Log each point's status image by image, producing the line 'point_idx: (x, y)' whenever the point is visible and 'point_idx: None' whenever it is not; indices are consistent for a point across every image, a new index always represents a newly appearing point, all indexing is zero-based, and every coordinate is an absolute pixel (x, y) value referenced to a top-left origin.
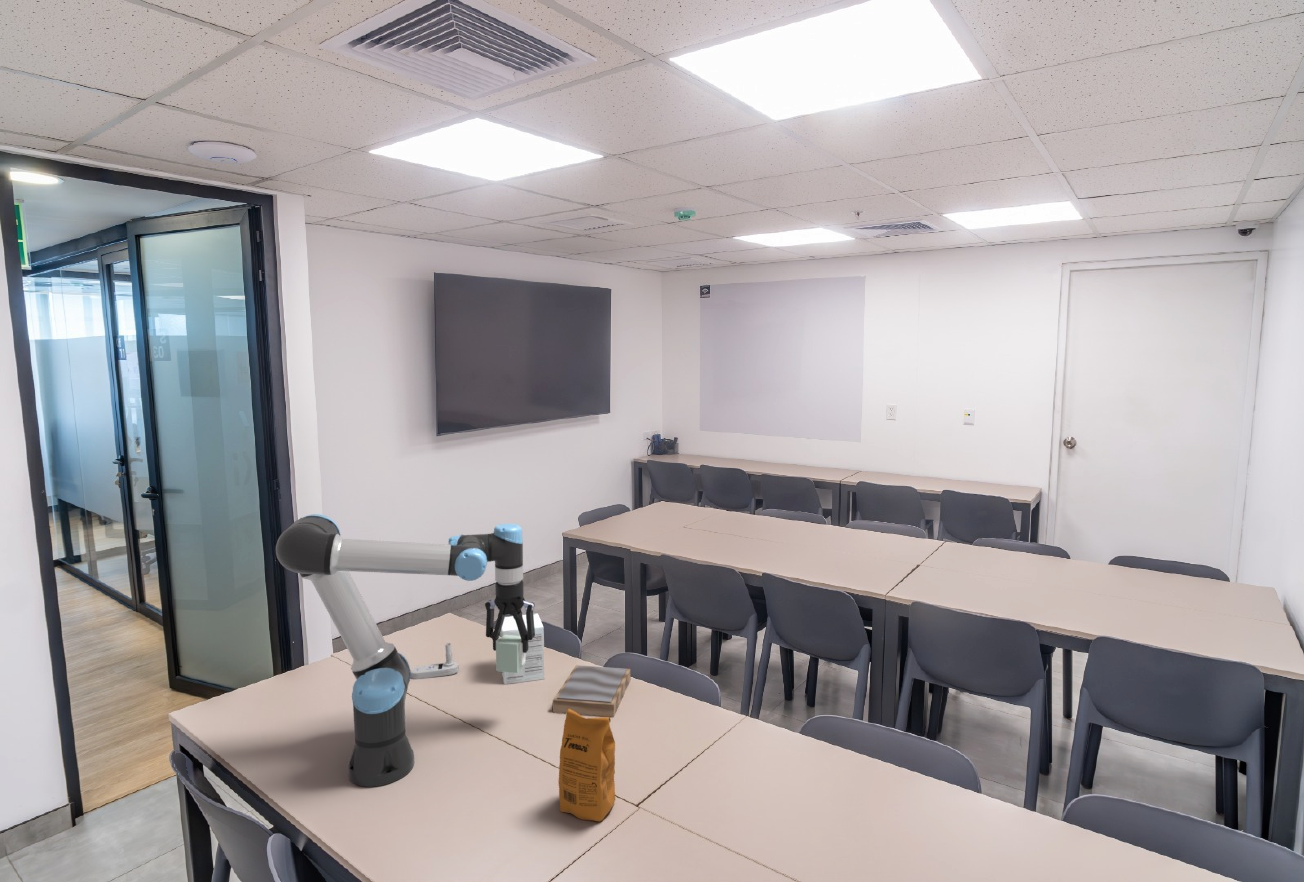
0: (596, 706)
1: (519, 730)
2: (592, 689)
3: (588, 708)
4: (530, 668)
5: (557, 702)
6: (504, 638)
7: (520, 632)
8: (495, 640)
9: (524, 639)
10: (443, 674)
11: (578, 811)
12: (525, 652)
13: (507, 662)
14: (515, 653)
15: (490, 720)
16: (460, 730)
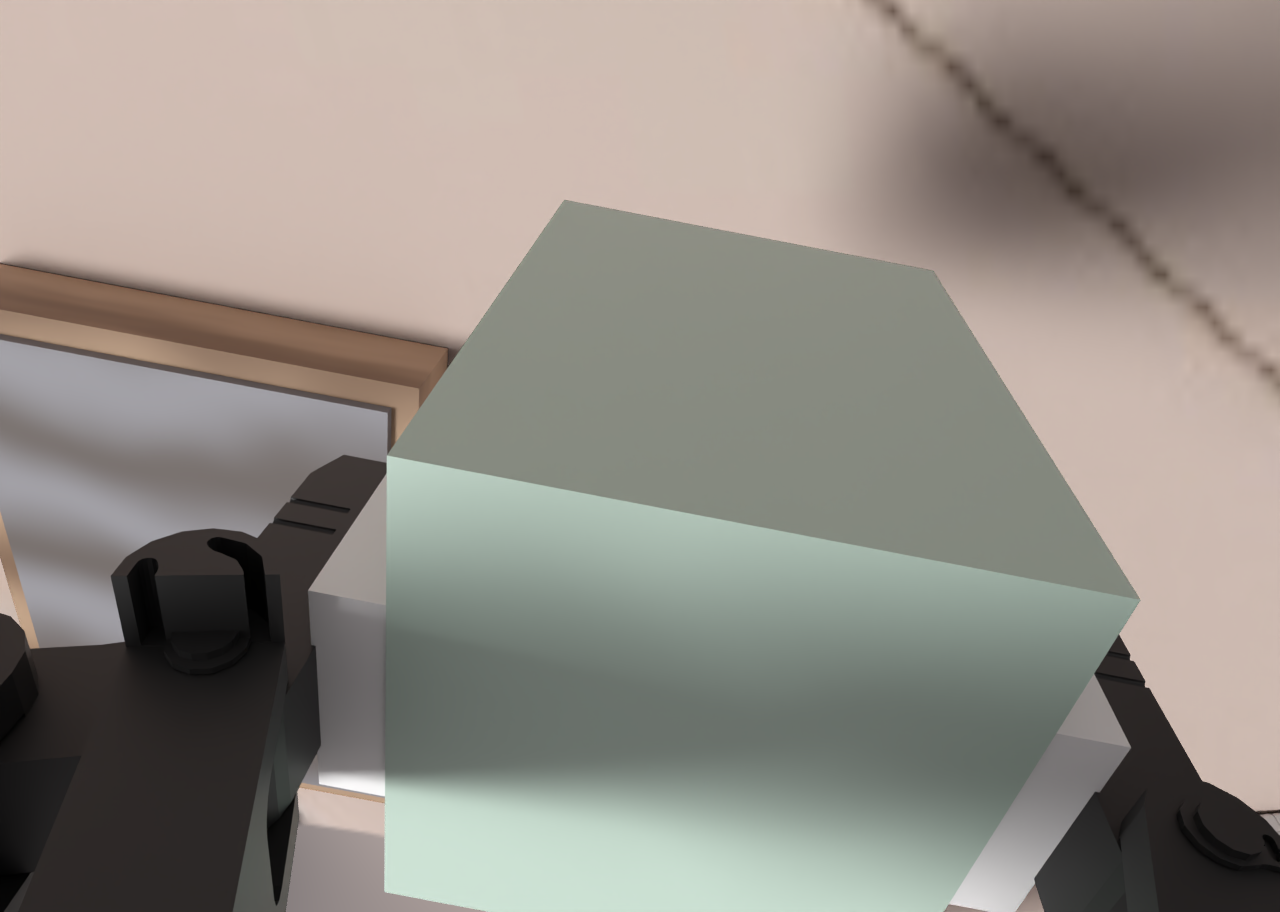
0: (77, 313)
1: (642, 74)
2: (169, 514)
3: (154, 317)
4: None
5: (386, 374)
6: (872, 838)
7: (163, 909)
8: (1129, 781)
9: (165, 655)
10: (1272, 821)
11: None
12: (353, 461)
13: (737, 294)
14: (516, 337)
15: (906, 246)
16: (1160, 82)
